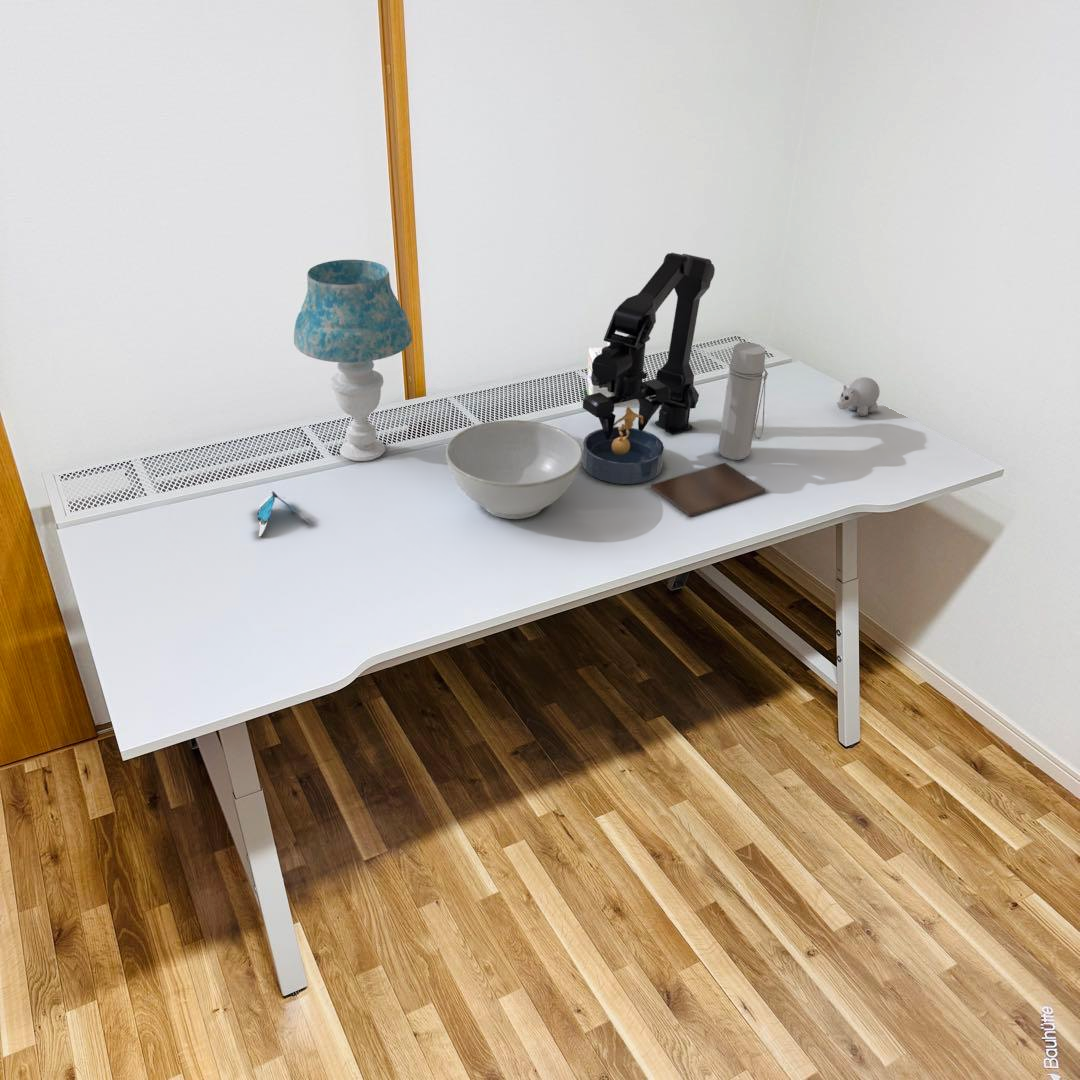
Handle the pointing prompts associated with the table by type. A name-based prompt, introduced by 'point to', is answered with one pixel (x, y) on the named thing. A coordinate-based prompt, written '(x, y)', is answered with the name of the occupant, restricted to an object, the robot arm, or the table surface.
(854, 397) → the chubby cartoon animal
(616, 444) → the figurine
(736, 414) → the water bottle
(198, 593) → the table surface
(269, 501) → the decorative butterfly
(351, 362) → the table lamp
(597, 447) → the basin
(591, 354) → the ink box
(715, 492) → the walnut board
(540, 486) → the decorative bowl
